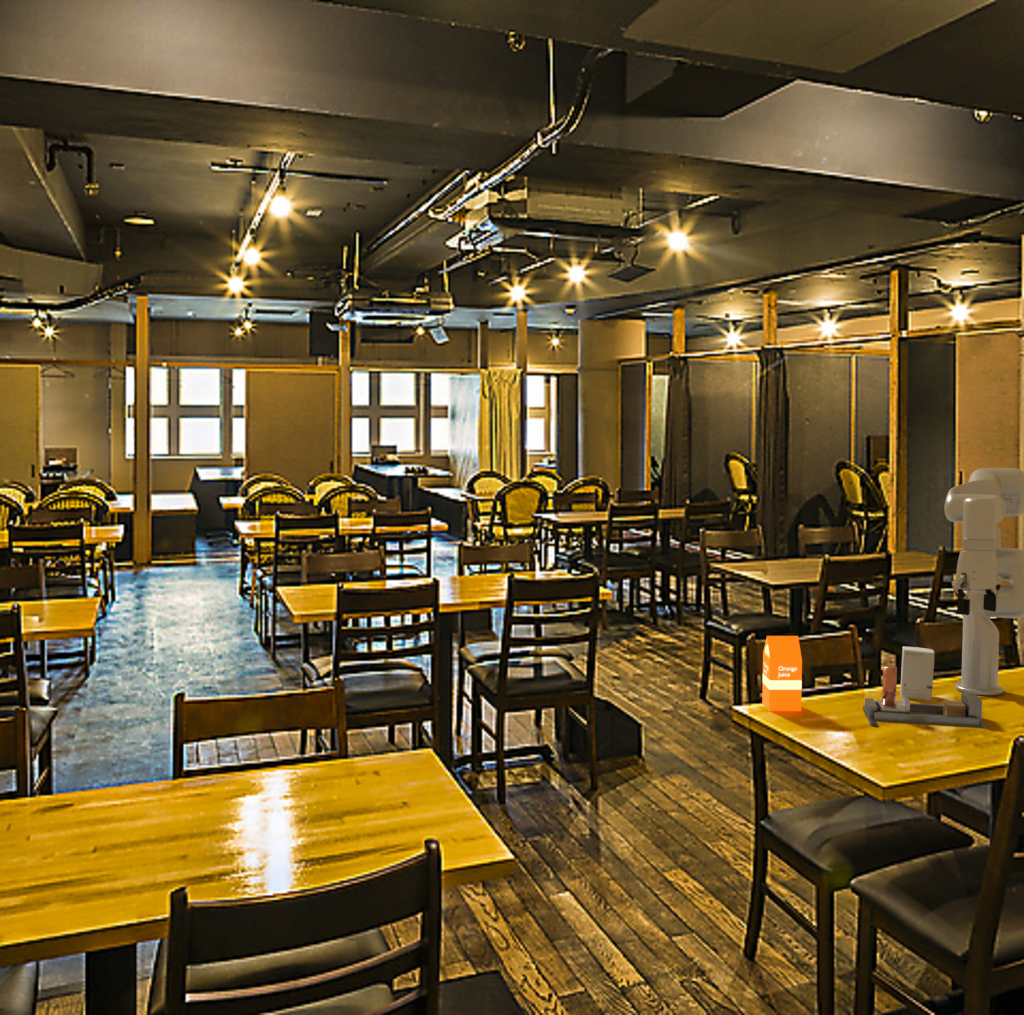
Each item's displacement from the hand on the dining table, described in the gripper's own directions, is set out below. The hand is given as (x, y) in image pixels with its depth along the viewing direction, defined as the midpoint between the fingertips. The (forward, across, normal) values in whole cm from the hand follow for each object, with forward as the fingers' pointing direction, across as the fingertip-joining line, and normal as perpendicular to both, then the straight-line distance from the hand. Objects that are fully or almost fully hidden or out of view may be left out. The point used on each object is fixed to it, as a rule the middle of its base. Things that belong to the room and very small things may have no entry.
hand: (976, 612), depth 235 cm
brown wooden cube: (+29, +2, -4) cm, 29 cm away
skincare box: (+30, -6, -23) cm, 39 cm away
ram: (+28, +13, -14) cm, 34 cm away
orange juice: (+30, +32, -35) cm, 56 cm away
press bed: (+30, +8, -9) cm, 32 cm away
